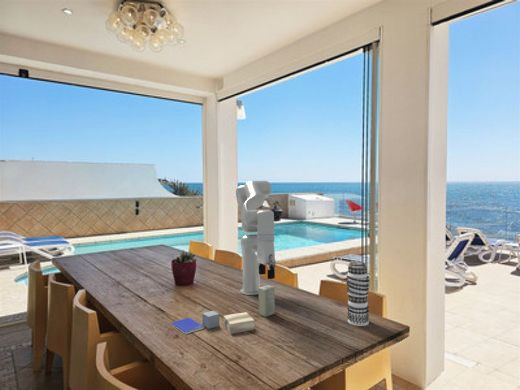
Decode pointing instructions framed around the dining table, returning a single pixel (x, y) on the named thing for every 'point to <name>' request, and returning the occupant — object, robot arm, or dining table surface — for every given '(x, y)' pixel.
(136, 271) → the dining table surface
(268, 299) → the skincare box
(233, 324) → the pedestal
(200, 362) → the dining table surface
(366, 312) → the decorative candle
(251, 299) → the dining table surface
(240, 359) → the dining table surface
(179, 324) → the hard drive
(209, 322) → the grey cube
